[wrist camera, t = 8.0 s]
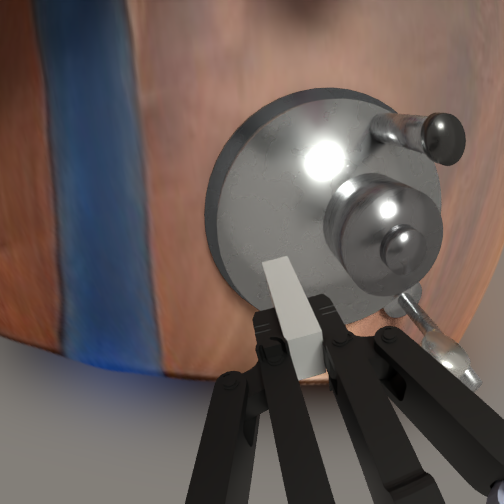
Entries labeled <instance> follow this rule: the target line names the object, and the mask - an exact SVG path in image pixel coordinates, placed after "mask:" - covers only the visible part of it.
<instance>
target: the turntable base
mask: <svg viewBox="0 0 504 504" xmlns="http://www.w3.org/2000/svg"><path fill="white" fill-rule="evenodd" d="M325 99H352V100H360V101H364V102H368V103H371V104H375V105H377V106H379V107H382V108H384V109H386V110H388V111H390V112H392V113H396V114H398V113H397V112H396V111H394V110H393V109H392V108H391V107H389V106H387V105H386V104H384V103H383V102H381V101H379V100H377V99H375V98H373V97H371V96H368V95H366V94H363V93H360V92H356V91H352V90H348V89H340V88H315V89H309V90H304V91H299V92H295V93H292V94H290V95H287V96H284V97H281V98H279V99H277V100H275V101H273V102H271V103H269V104H267V105H266V106H264V107H262V108H261V109H259V110H258V111H257V112H255V113H254V114H253V115H251V116H250V117H249V118H248V119H247V120H246V121H245V122H244V123H243V124H242V125H241V126H240V127H239V128H238V129H237V130H236V131H235V132H234V133H233V135H232V136H231V137H230V139H229V140H228V141H227V143H226V144H225V145H224V147H223V149H222V151H221V153H220V154H219V156H218V158H217V160H216V162H215V165H214V168H213V170H212V173H211V176H210V179H209V184H208V188H207V193H206V200H205V214H204V215H205V230H206V235H207V240H208V245H209V248H210V251H211V254H212V256H213V259H214V262H215V263H216V265H217V267H218V269H219V271H220V273H221V274H222V276H223V277H224V279H225V280H226V281H227V282H228V284H229V285H230V286H231V288H233V289H234V290H235V291H236V292H237V293H238V294H239V295H240V296H241V297H242V298H243V299H245V300H246V301H247V302H249V301H248V300H247V299H246V298H245V297H244V296H243V295H242V294H241V293H240V292H239V290H238V289H237V288H236V286H235V285H234V284H233V282H232V280H231V278H230V276H229V275H228V273H227V271H226V268H225V266H224V263H223V260H222V257H221V253H220V249H219V244H218V234H217V209H218V199H219V195H220V190H221V186H222V183H223V180H224V177H225V175H226V172H227V170H228V167H229V166H230V164H231V162H232V160H233V158H234V157H235V155H236V153H237V152H238V150H239V149H240V148H241V146H242V145H243V144H244V142H245V141H246V140H247V139H248V138H249V137H250V136H251V135H252V134H253V133H254V132H255V131H256V130H257V129H258V128H259V127H260V126H261V125H263V124H264V123H265V122H267V121H268V120H269V119H271V118H272V117H274V116H276V115H277V114H279V113H281V112H283V111H285V110H287V109H289V108H292V107H295V106H297V105H300V104H303V103H308V102H312V101H317V100H325ZM249 303H250V302H249ZM250 304H251V303H250ZM251 305H252V304H251Z"/></svg>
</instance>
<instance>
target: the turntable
mask: <svg viewBox="0 0 504 504" xmlns="http://www.w3.org/2000/svg"><path fill="white" fill-rule="evenodd" d="M465 143H466V138H465V132H464V128H463V126H462V124H461V122H460V121H459V120H458V119H457V118H456V117H455V116H453V115H451V114H447V113H433V114H431V115H429V116H420V115H409V114H396V113H392V112H390V111H388V110H386V109H384V108H382V107H379V106H377V105H375V104H371V103H368V102H364V101H360V100H352V99H325V100H317V101H312V102H308V103H303V104H300V105H297V106H295V107H292V108H289V109H287V110H285V111H283V112H281V113H279V114H277V115H276V116H274V117H272V118H271V119H269V120H268V121H267V122H265V123H264V124H263V125H261V126H260V127H259V128H258V129H257V130H256V131H255V132H254V133H253V134H252V135H251V136H250V137H249V138H248V139H247V140H246V141H245V142H244V144H243V145H242V146H241V148H240V149H239V150H238V152H237V153H236V155H235V157H234V158H233V160H232V162H231V164H230V166H229V167H228V170H227V172H226V175H225V177H224V180H223V183H222V186H221V190H220V195H219V199H218V209H217V234H218V244H219V249H220V253H221V257H222V260H223V263H224V266H225V268H226V271H227V273H228V275H229V276H230V278H231V280H232V282H233V284H234V285H235V286H236V288H237V289H238V290H239V292H240V293H241V294H242V295H243V296H244V297H245V298H246V299H247V300H248V301H249V302H250V303H251V304H252V305H253V306H254V307H256V308H257V309H258V310H260V311H262V310H266V309H270V308H273V306H272V302H271V298H270V294H269V290H268V286H267V282H266V278H265V274H264V269H263V265H262V262H266V261H269V260H273V259H277V258H281V257H285V256H288V258H289V261H290V263H291V265H292V267H293V269H294V271H295V273H296V275H297V278H298V280H299V282H300V284H301V286H302V288H303V291H304V293H305V295H306V297H307V298H308V297H312V296H316V295H319V294H324V295H326V296H327V297H329V298H330V299H331V301H332V303H333V305H334V306H335V308H336V310H337V312H338V314H339V315H340V317H341V319H342V321H343V323H344V324H349V323H352V322H355V321H358V320H360V319H363V318H365V317H367V316H369V315H371V314H373V313H375V312H377V311H379V310H380V309H382V308H383V307H385V306H386V305H388V304H389V303H390V302H392V301H393V300H394V299H396V298H397V297H398V296H399V295H400V294H401V293H399V294H396V295H392V296H374V295H371V294H368V293H366V292H364V291H363V290H362V289H360V288H359V287H358V286H357V285H356V284H355V282H354V281H353V280H352V278H351V277H350V276H349V274H348V273H347V272H346V270H345V269H344V268H343V266H342V265H341V264H340V262H339V261H338V260H337V258H336V257H335V256H334V255H333V253H332V252H331V251H330V249H329V247H328V246H327V244H326V241H325V238H324V232H323V220H324V214H325V211H326V208H327V205H328V203H329V201H330V199H331V198H332V196H333V194H334V193H335V192H336V191H337V189H338V188H339V187H340V186H341V185H342V184H344V183H345V182H346V181H348V180H349V179H351V178H353V177H355V176H358V175H361V174H365V173H378V174H383V175H385V176H388V177H390V178H393V179H395V180H397V181H399V182H401V183H404V184H406V185H408V186H410V187H412V188H414V189H416V190H419V191H421V192H423V193H424V194H426V195H428V196H429V197H430V198H431V199H432V200H433V201H434V203H435V204H436V206H437V207H438V209H439V212H440V214H441V189H440V183H439V177H438V174H437V170H436V167H435V164H434V162H436V163H439V164H442V165H445V166H450V165H453V164H455V163H456V162H458V161H459V159H460V158H461V157H462V155H463V152H464V149H465Z"/></svg>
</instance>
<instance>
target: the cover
mask: <svg viewBox="0 0 504 504" xmlns="http://www.w3.org/2000/svg"><path fill="white" fill-rule="evenodd" d="M323 232H324V238H325V241H326V244H327V246H328V247H329V249H330V251H331V252H332V253H333V255H334V256H335V257H336V258H337V260H338V261H339V262H340V264H341V265H342V266H343V268H344V269H345V270H346V272H347V273H348V274H349V276H350V277H351V278H352V280H353V281H354V282H355V284H356V285H357V286H358V287H359V288H360V289H362V290H363V291H364V292H366V293H368V294H371V295H374V296H392V295H396V294H399V293H402V292H404V291H406V290H408V289H410V288H411V287H413V286H414V285H415V284H417V283H418V282H419V281H420V280H421V279H422V278H423V277H424V276H425V275H426V274H427V273H428V271H429V270H430V269H431V267H432V266H433V264H434V262H435V260H436V258H437V256H438V254H439V251H440V248H441V243H442V238H443V223H442V218H441V214H440V212H439V209H438V207H437V206H436V204H435V203H434V201H433V200H432V199H431V198H430V197H429V196H428V195H426V194H424V193H423V192H421V191H419V190H416V189H414V188H412V187H410V186H408V185H406V184H404V183H401V182H399V181H397V180H395V179H393V178H390V177H388V176H385V175H383V174H378V173H365V174H361V175H358V176H355V177H353V178H351V179H349V180H348V181H346V182H345V183H344V184H342V185H341V186H340V187H339V188H338V189H337V191H336V192H335V193H334V194H333V196H332V198H331V199H330V201H329V203H328V205H327V208H326V211H325V214H324V220H323Z"/></svg>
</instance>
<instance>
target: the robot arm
mask: <svg viewBox="0 0 504 504" xmlns="http://www.w3.org/2000/svg"><path fill="white" fill-rule="evenodd" d="M262 265H263V269H264V274H265V278H266V282H267V286H268V290H269V294H270V298H271V302H272V306H273V308H270V309H266V310H262V311H258V312H255V314H254V317H253V325H254V330H255V336H256V341H257V345H256V353H257V357H258V362H257V364H256V365H255V366H254V367H253V368H252V369H250V370H248V371H247V372H245V373H243V374H242V373H240V372H237V371H230V372H226V373H224V374H222V375H221V376H220V377H219V378H218V379H217V380H216V382H215V386H214V390H213V393H212V397H211V401H210V406H209V409H208V413H207V418H206V421H205V425H204V430H203V433H202V437H201V442H200V445H199V450H198V454H197V457H196V461H195V465H194V469H193V473H192V477H191V481H190V485H189V489H188V493H187V497H186V501H185V504H248V499H249V491H250V484H251V478H252V471H253V463H254V456H255V449H256V441H257V434H258V426H259V418H260V414H261V413H263V412H264V411H266V410H268V409H269V413H270V418H271V423H272V428H273V433H274V438H275V443H276V448H277V452H278V457H279V462H280V467H281V472H282V477H283V482H284V486H285V491H286V496H287V500H288V504H335V501H334V498H333V495H332V492H331V488H330V484H329V481H328V478H327V474H326V471H325V467H324V464H323V461H322V458H321V454H320V451H319V447H318V444H317V441H316V438H315V434H314V431H313V428H312V424H311V421H310V417H309V414H308V411H307V407H306V405H305V401H304V397H303V394H302V391H301V388H300V384H299V381H298V380H302V379H306V378H309V377H313V376H316V375H319V374H323V373H326V369H327V372H328V374H329V387H330V391H332V390H333V393H334V395H335V398H336V401H337V403H338V406H339V409H340V411H341V414H342V416H343V419H344V422H345V424H346V427H347V430H348V432H349V435H350V438H351V441H352V443H353V446H354V449H355V452H356V454H357V457H358V459H359V462H360V465H361V468H362V471H363V474H364V476H365V479H366V482H367V485H368V488H369V491H370V493H371V496H372V499H373V502H374V504H445V502H444V499H443V497H442V495H441V493H440V490H439V488H438V486H437V484H436V482H435V480H434V478H433V477H432V476H431V475H430V474H428V473H426V472H425V471H424V470H423V468H422V466H421V464H420V462H419V460H418V458H417V456H416V453H415V451H414V449H413V447H412V445H411V443H410V441H409V439H408V437H407V435H406V433H405V431H404V429H403V426H402V425H401V422H400V421H399V418H398V417H397V415H396V412H395V411H394V408H393V407H392V405H391V403H390V401H389V399H388V397H389V398H390V399H391V400H392V401H393V402H394V403H395V404H396V406H397V407H398V408H399V409H400V410H401V411H402V412H403V413H404V414H405V415H406V416H407V418H408V419H409V420H410V421H411V422H412V423H413V424H414V425H415V426H416V427H417V428H418V429H419V430H420V432H422V434H423V435H424V436H425V437H426V438H427V439H428V440H429V441H430V442H431V443H432V445H433V446H434V447H435V448H436V449H437V450H438V451H439V452H440V453H441V454H442V455H443V456H444V458H445V459H446V460H447V461H448V462H449V463H450V464H451V465H452V466H453V467H454V468H455V469H456V471H457V472H458V473H459V474H460V475H461V476H462V477H463V478H464V479H465V480H466V481H467V482H468V483H469V484H470V485H471V486H472V487H473V488H474V489H475V490H477V491H478V492H480V493H481V494H483V495H484V496H487V497H488V498H487V502H486V504H504V419H502V418H501V417H500V416H499V415H498V414H497V413H496V412H495V411H494V410H493V409H492V408H490V407H489V406H488V405H487V404H486V403H485V402H484V401H483V400H482V399H480V398H479V397H478V396H477V395H476V394H475V393H474V392H473V391H471V390H470V389H469V388H468V387H467V386H466V385H465V384H464V383H462V382H461V381H460V380H459V379H458V378H457V377H456V376H454V375H453V374H452V373H451V372H450V371H449V370H448V369H446V368H445V367H444V366H443V365H442V364H441V363H439V362H438V361H437V360H436V359H435V358H434V357H432V356H431V355H430V354H429V353H428V352H427V351H425V350H424V349H423V348H422V347H421V346H420V345H418V344H417V343H416V342H415V341H414V340H412V339H411V338H410V337H409V336H408V335H407V334H405V333H404V332H403V331H402V330H400V329H399V328H397V327H393V326H386V327H383V328H380V329H379V330H378V331H377V332H376V333H375V336H368V337H360V336H356V335H354V334H353V333H352V332H350V331H348V330H347V328H346V326H345V324H344V323H343V321H342V319H341V317H340V315H339V314H338V312H337V310H336V308H335V306H334V305H333V303H332V301H331V299H330V298H329V297H327V296H326V295H324V294H319V295H316V296H312V297H308V298H307V297H306V295H305V293H304V291H303V288H302V286H301V284H300V282H299V280H298V278H297V275H296V273H295V271H294V269H293V267H292V265H291V263H290V261H289V258H288V256H285V257H281V258H277V259H273V260H269V261H266V262H262ZM387 396H388V397H387Z"/></svg>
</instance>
